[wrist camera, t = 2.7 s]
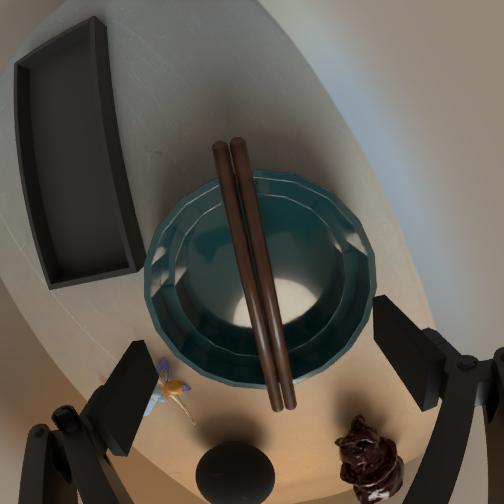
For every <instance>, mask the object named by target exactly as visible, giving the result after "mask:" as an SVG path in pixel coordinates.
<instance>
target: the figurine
mask: <svg viewBox="0 0 504 504" xmlns="http://www.w3.org/2000/svg"><path fill="white" fill-rule="evenodd" d="M361 418H362V419H363V420H364V423H365V419H364V417H363V415H361V414H359V415H357V416H356V417H355V418H354V419H353V421H352V422H351V427H350V430H349V432H348V433H347V434H346V435H345V436H344V437H343V438H339V439H337V440H336V441H335V444H336V445H337V446H339V455H340V457H341V459H342V460H341V459H340V460H341V461H342V462H343V464H342V465H341V471H340V477H341V479H342V480H343V481H345V482H347V483H349V484H353V490H354V494H355V496H356V498H357V499H358V501H359V502H360V503H361V504H374V503H376V502H378V501H381V500H384V499H387V498H390V497H391V496H393V495H394V494H395V493H396V492H398V491H399V489H400V488H401V486H402V484H403V476H404V462H403V460H402V459H401V457H399V456H398V455H397V448H396V444H395V443H394V442H393V441H392V440H390V439H386V438H385V437H381V436H378V435H379V434H378V431H377V429H376V428H374V427H369V426H368V425H367V424H366V423H365V425H364V424H363V423H362V421H361Z"/></svg>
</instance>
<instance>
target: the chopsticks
mask: <svg viewBox="0 0 504 504" xmlns="http://www.w3.org/2000/svg"><path fill="white" fill-rule="evenodd" d="M230 150H231V155H232V159H233V164H234V169H235V173H236V178H237V183H238V188H239V192H240V197H241V202H242V206H243V211H244V216H245V221H246V225H247V230H248V235H249V239H250V244H251V249H252V253H253V258H254V263H255V268H256V272H257V277H258V282H259V286H260V291H261V296H262V301H263V305H264V310H265V315H266V319H267V324H268V329H269V334H270V338H271V343H272V348H273V352H274V357H275V362H276V367H277V371H278V376H279V381H280V385H281V390H282V395H283V400H284V404H285V407H286V409H288V410H293V409H295V408H296V406H297V402H296V396H295V391H294V385H293V379H292V374H291V368H290V363H289V358H288V352H287V347H286V341H285V336H284V331H283V325H282V320H281V315H280V309H279V304H278V299H277V294H276V289H275V283H274V278H273V273H272V268H271V263H270V258H269V253H268V248H267V243H266V238H265V233H264V228H263V223H262V218H261V213H260V208H259V203H258V198H257V194H256V189H255V184H254V179H253V174H252V170H251V165H250V160H249V155H248V151H247V146H246V142H245V140H244V139H243V138H242V137H234V138H232V139H231V141H230ZM212 151H213V156H214V161H215V165H216V170H217V175H218V179H219V184H220V189H221V193H222V198H223V202H224V207H225V212H226V216H227V221H228V225H229V230H230V234H231V239H232V243H233V247H234V252H235V256H236V261H237V265H238V269H239V274H240V278H241V282H242V287H243V291H244V295H245V300H246V304H247V308H248V313H249V317H250V321H251V325H252V329H253V334H254V338H255V342H256V346H257V350H258V354H259V359H260V363H261V367H262V371H263V375H264V379H265V383H266V387H267V391H268V395H269V399H270V403H271V407H272V410H273V411H274V412H281V411H282V410H283V408H284V405H283V400H282V396H281V391H280V386H279V382H278V377H277V372H276V368H275V363H274V358H273V354H272V349H271V344H270V340H269V335H268V330H267V326H266V321H265V316H264V312H263V307H262V302H261V298H260V293H259V288H258V284H257V279H256V274H255V270H254V265H253V260H252V256H251V251H250V246H249V242H248V237H247V232H246V228H245V223H244V218H243V213H242V209H241V204H240V199H239V195H238V190H237V185H236V181H235V176H234V171H233V166H232V162H231V157H230V152H229V148H228V145H227V143H226V142H225V141H222V140H219V141H216V142H215V143H214V144H213V146H212Z"/></svg>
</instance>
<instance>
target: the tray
mask: <svg viewBox="0 0 504 504" xmlns="http://www.w3.org/2000/svg"><path fill="white" fill-rule="evenodd" d="M14 120H15V135H16V146H17V155H18V163H19V170H20V177H21V183H22V189H23V195H24V200H25V205H26V210H27V214H28V219H29V223H30V227H31V231H32V235H33V239H34V243H35V247H36V250H37V254H38V257H39V260H40V264H41V267H42V270H43V273H44V276H45V279H46V282H47V285H48V288H49V290H53V289H58V288H63V287H68V286H72V285H77V284H82V283H87V282H92V281H97V280H102V279H107V278H112V277H117V276H122V275H127V274H131V273H137V272H138V271H139V270H140V269H141V268H143V267H144V264H145V263H144V262H145V259H146V254H145V250H144V247H143V243H142V239H141V235H140V231H139V228H138V224H137V220H136V216H135V211H134V207H133V203H132V199H131V194H130V190H129V185H128V181H127V176H126V171H125V166H124V161H123V156H122V150H121V145H120V139H119V133H118V127H117V121H116V114H115V107H114V100H113V92H112V84H111V75H110V65H109V54H108V41H107V27H106V26H105V25H104V24H103V23H102V22H101V21H100V20H99V19H98V18H97V17H95V16H93V17H91V18H89V19H87V20H85V21H83V22H81V23H79V24H77V25H75V26H73V27H71V28H69V29H67V30H66V31H64V32H62V33H60V34H59V35H57V36H55V37H53V38H52V39H50V40H49V41H47V42H45V43H44V44H42V45H40V46H39V47H37V48H36V49H34V50H33V51H31V52H30V53H28V54H27V55H25V56H24V57H23V58H21V59H20V60H18V61H17V62H16V63H14Z"/></svg>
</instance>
